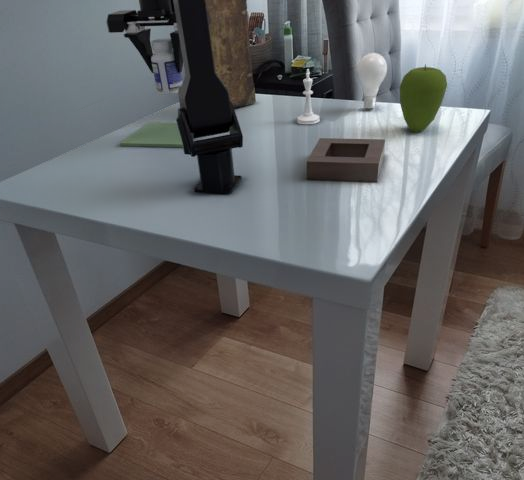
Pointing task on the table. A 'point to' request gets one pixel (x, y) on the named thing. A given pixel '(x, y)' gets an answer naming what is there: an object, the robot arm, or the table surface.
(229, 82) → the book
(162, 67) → the pill bottle
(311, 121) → the chess piece
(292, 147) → the table surface
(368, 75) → the lightbulb
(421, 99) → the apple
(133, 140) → the mat
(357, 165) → the holder
